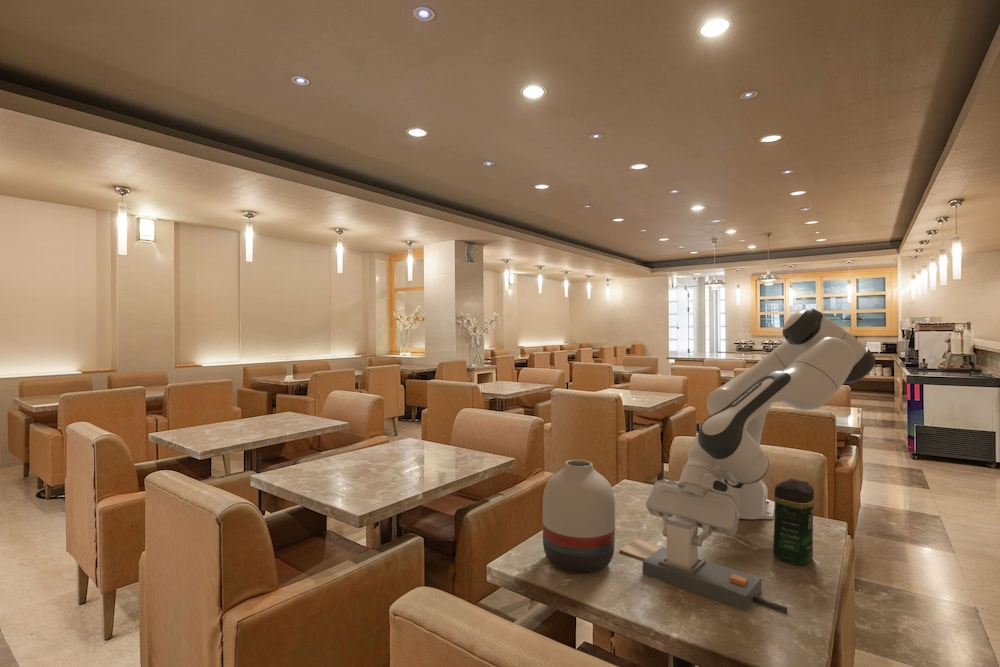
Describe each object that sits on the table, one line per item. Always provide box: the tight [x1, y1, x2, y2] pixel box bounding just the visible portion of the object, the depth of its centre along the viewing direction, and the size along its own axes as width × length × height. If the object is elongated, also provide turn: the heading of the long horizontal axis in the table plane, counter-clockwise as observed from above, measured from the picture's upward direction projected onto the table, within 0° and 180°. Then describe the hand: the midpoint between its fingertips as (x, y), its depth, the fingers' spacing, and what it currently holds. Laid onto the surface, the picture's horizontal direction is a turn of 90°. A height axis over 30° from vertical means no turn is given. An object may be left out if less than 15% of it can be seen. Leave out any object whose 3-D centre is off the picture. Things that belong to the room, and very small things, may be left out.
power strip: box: [642, 546, 789, 613], centre depth 108 cm, size 10×28×4 cm, turn 47°
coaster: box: [619, 538, 665, 561], centre depth 126 cm, size 9×9×1 cm
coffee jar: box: [772, 478, 815, 566], centre depth 123 cm, size 10×8×19 cm
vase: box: [542, 459, 616, 575], centre depth 120 cm, size 17×17×24 cm
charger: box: [666, 514, 699, 570], centre depth 113 cm, size 5×5×10 cm
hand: (681, 540), depth 113 cm, fingers open, 5 cm apart
